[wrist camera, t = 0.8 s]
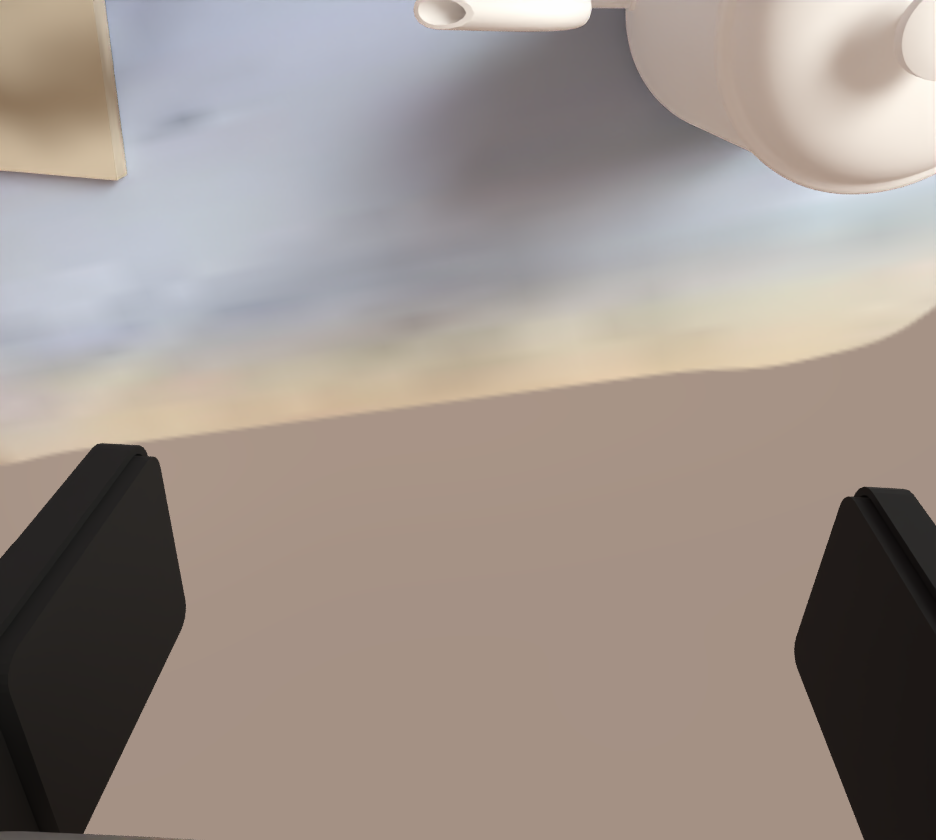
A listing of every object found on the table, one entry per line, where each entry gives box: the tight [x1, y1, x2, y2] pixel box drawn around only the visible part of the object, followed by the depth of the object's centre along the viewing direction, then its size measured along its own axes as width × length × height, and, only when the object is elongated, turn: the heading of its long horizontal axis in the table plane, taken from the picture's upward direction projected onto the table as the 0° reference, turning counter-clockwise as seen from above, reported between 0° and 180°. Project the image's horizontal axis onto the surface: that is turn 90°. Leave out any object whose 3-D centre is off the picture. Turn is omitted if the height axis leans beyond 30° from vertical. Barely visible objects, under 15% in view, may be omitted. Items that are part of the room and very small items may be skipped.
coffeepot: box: [414, 0, 936, 194], centre depth 27 cm, size 11×25×19 cm, turn 88°
